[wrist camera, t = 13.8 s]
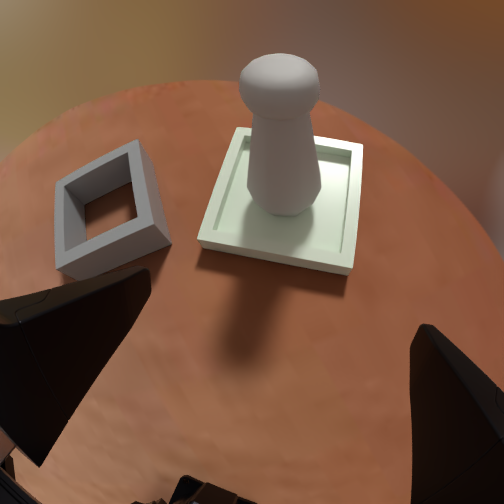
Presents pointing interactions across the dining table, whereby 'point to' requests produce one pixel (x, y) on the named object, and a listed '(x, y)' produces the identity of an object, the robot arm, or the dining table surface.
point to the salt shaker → (281, 133)
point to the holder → (121, 237)
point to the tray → (288, 227)
